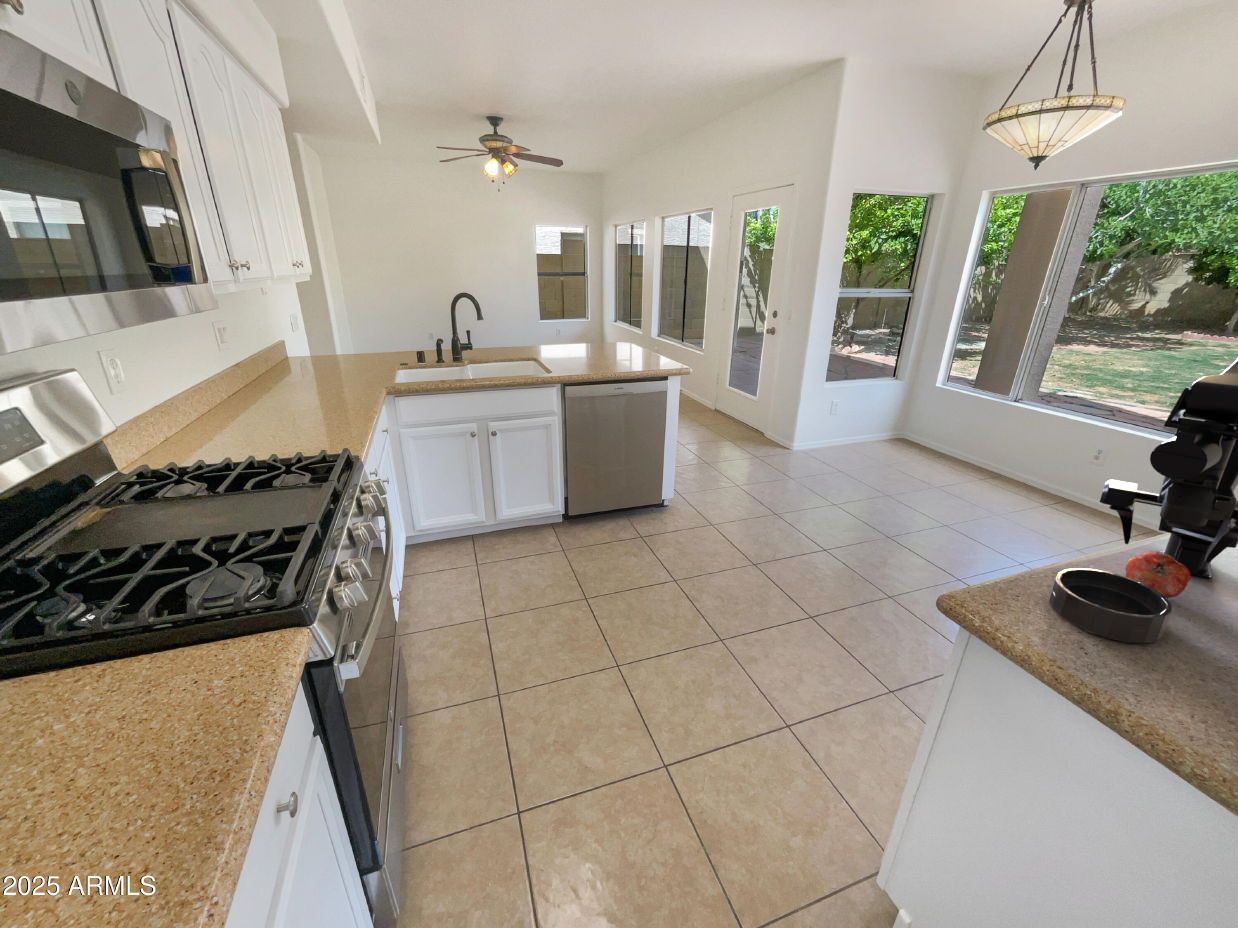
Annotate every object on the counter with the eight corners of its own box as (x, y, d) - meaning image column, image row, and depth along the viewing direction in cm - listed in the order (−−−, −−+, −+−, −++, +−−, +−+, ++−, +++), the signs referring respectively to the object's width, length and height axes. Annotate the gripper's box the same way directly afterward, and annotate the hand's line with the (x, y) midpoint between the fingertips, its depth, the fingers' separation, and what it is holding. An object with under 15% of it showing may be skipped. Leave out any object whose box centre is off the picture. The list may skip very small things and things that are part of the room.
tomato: (1117, 586, 92) (1111, 572, 86) (1143, 553, 91) (1138, 536, 85) (1172, 612, 86) (1170, 598, 80) (1200, 576, 85) (1199, 560, 79)
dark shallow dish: (1055, 584, 90) (1062, 559, 88) (1162, 615, 81) (1172, 588, 79) (1042, 619, 81) (1050, 592, 79) (1160, 658, 72) (1171, 629, 70)
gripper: (1110, 465, 79) (1084, 552, 85) (1303, 495, 67) (1258, 595, 72) (1115, 447, 87) (1091, 528, 92) (1291, 471, 74) (1250, 563, 79)
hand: (1165, 552), depth 84 cm, fingers open, 9 cm apart
